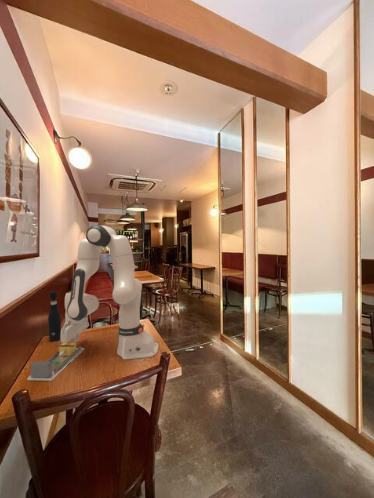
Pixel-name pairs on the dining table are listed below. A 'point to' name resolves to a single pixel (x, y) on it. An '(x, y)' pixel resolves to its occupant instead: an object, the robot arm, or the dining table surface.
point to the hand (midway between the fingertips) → (75, 342)
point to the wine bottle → (54, 319)
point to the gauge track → (51, 366)
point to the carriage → (66, 348)
